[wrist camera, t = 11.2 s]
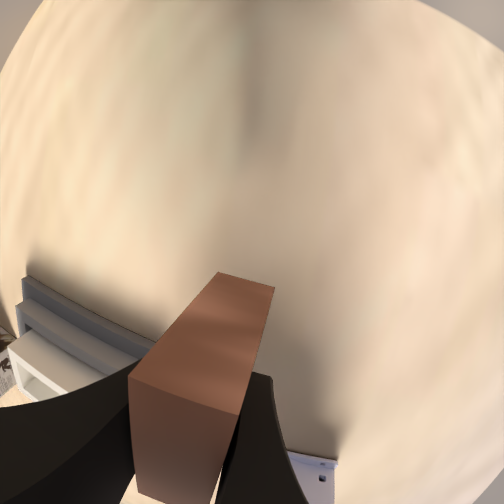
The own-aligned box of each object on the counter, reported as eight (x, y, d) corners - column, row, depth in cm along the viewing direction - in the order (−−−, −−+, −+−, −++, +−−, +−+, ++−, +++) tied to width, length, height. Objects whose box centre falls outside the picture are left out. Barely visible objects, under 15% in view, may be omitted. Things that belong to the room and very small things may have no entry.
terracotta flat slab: (274, 287, 10) (238, 415, 4) (243, 394, 11) (205, 516, 6) (218, 271, 10) (127, 375, 5) (198, 380, 12) (138, 492, 6)
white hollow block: (42, 321, 22) (6, 346, 17) (176, 392, 21) (150, 437, 16) (48, 364, 24) (18, 389, 19) (168, 430, 23) (146, 470, 18)
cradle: (226, 370, 21) (215, 396, 18) (198, 452, 24) (189, 474, 21) (28, 275, 22) (6, 286, 19) (39, 367, 26) (23, 380, 23)
